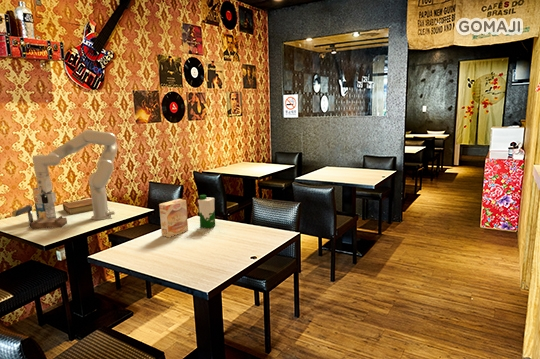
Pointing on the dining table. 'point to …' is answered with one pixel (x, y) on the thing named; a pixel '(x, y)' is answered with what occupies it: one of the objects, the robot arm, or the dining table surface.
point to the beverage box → (43, 207)
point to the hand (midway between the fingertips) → (47, 201)
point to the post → (30, 218)
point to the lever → (22, 210)
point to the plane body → (49, 223)
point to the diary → (78, 206)
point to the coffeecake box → (173, 217)
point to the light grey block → (49, 195)
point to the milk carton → (206, 212)
